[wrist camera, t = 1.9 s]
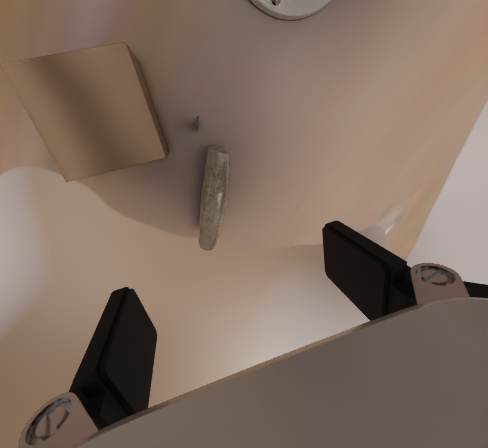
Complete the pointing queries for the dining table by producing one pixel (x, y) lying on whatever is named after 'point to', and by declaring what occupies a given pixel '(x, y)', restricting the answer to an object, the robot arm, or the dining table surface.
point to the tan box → (90, 109)
